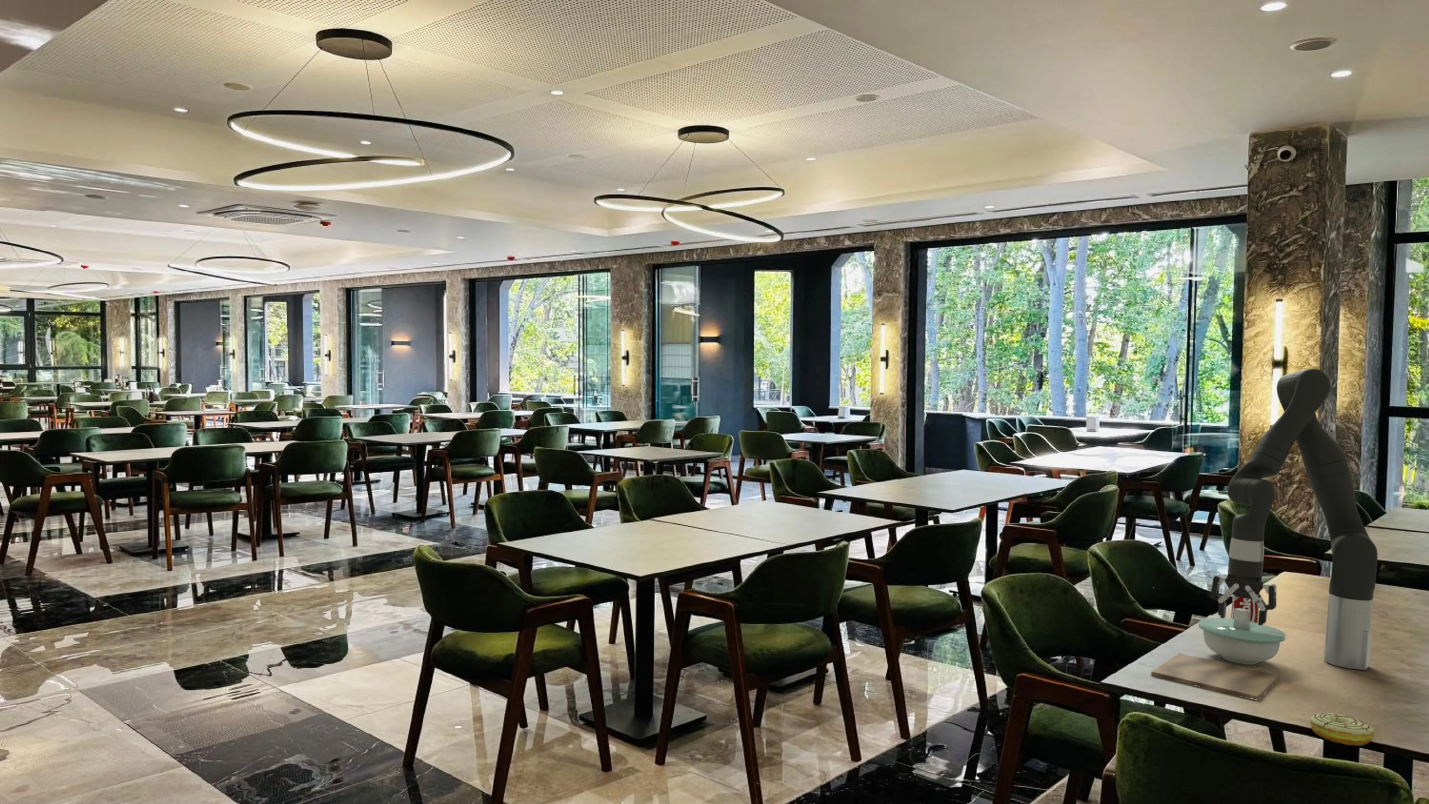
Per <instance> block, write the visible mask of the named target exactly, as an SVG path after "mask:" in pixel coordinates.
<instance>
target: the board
mask: <svg viewBox="0 0 1429 804" xmlns="http://www.w3.org/2000/svg"><path fill="white" fill-rule="evenodd" d="M1150 673H1151V674H1150V676H1151V677H1156V678H1160V679H1163V678H1164V679H1165V680H1167V679H1168V680H1167V681H1172V680H1173V681H1172V682H1176V681H1177V683H1180V682H1183V683H1182V684H1184V683H1187V684H1186V685H1188V684H1191V685H1190V686H1193V685H1197V686H1200V687H1199V688H1201V687H1203V688H1202V689H1205V688H1206V689H1207V690H1209V689H1210V691H1214V692H1218V693H1223V694H1226V695H1231V696H1234V695H1236V696H1235V697H1239V696H1242V697H1241V698H1243V697H1247V698H1253V699H1257V700H1258V699H1259V698H1260V697H1261V696H1262V695H1263V694H1264V693H1265V692H1266V691H1267V690H1268V691H1270V689H1271V688H1272V687H1273V686H1275V685H1276V684H1277V682H1279V681H1280V674H1276V673H1275V674H1274V673H1271V672H1267V671H1266V672H1265V671H1262V670H1258V669H1253V668H1250V667H1249V668H1248V667H1244V666H1239V665H1235V664H1229V663H1225V662H1221V661H1217V660H1211V659H1207V658H1203V657H1202V658H1201V657H1198V656H1192V655H1189V654H1185V653H1180V652H1179V653H1178V654H1176V655H1174V656H1173V657H1172V658H1170V659H1168V660H1167V661H1165V662H1164V663H1162V664H1161V665H1159V666H1158V667H1156V668H1154V669H1153V670H1152V671H1150ZM1272 685H1273V686H1272ZM1197 686H1196V687H1197ZM1206 689H1205V690H1206ZM1268 691H1267V692H1268ZM1267 692H1266V693H1267ZM1266 693H1265V694H1266ZM1265 694H1264V695H1265ZM1264 695H1263V696H1264ZM1263 696H1262V697H1263ZM1262 697H1261V698H1262ZM1247 698H1246V699H1247ZM1261 698H1260V699H1261ZM1260 699H1259V700H1260ZM1259 700H1258V701H1259Z"/></svg>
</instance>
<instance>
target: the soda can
mask: <svg viewBox="0 0 1429 804" xmlns="http://www.w3.org/2000/svg"><path fill="white" fill-rule="evenodd" d="M1259 593H1260V594H1261V591H1260V592H1259ZM1231 600H1232V601H1231V614H1230V615H1231V617H1230V619H1234V609H1235V608H1240V609H1246V610H1250V611H1251V615H1250V622H1254V623H1258V619H1259V610H1260V608H1259V607H1258V605H1257V604H1256V603H1255V602H1254V600H1253V599H1252V598H1250V599H1246V598H1244V597H1235V595H1232V599H1231Z"/></svg>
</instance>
